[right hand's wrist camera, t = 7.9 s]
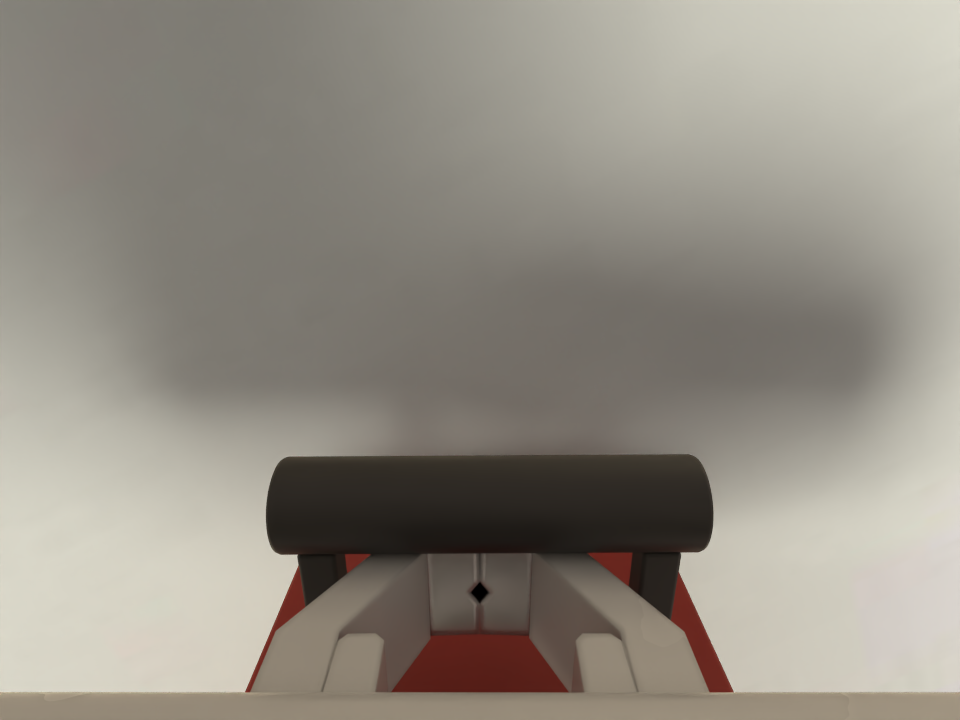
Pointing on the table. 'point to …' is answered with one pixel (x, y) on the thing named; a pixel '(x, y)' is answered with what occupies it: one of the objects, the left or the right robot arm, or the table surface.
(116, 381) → the table surface
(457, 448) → the table surface
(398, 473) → the drawer
